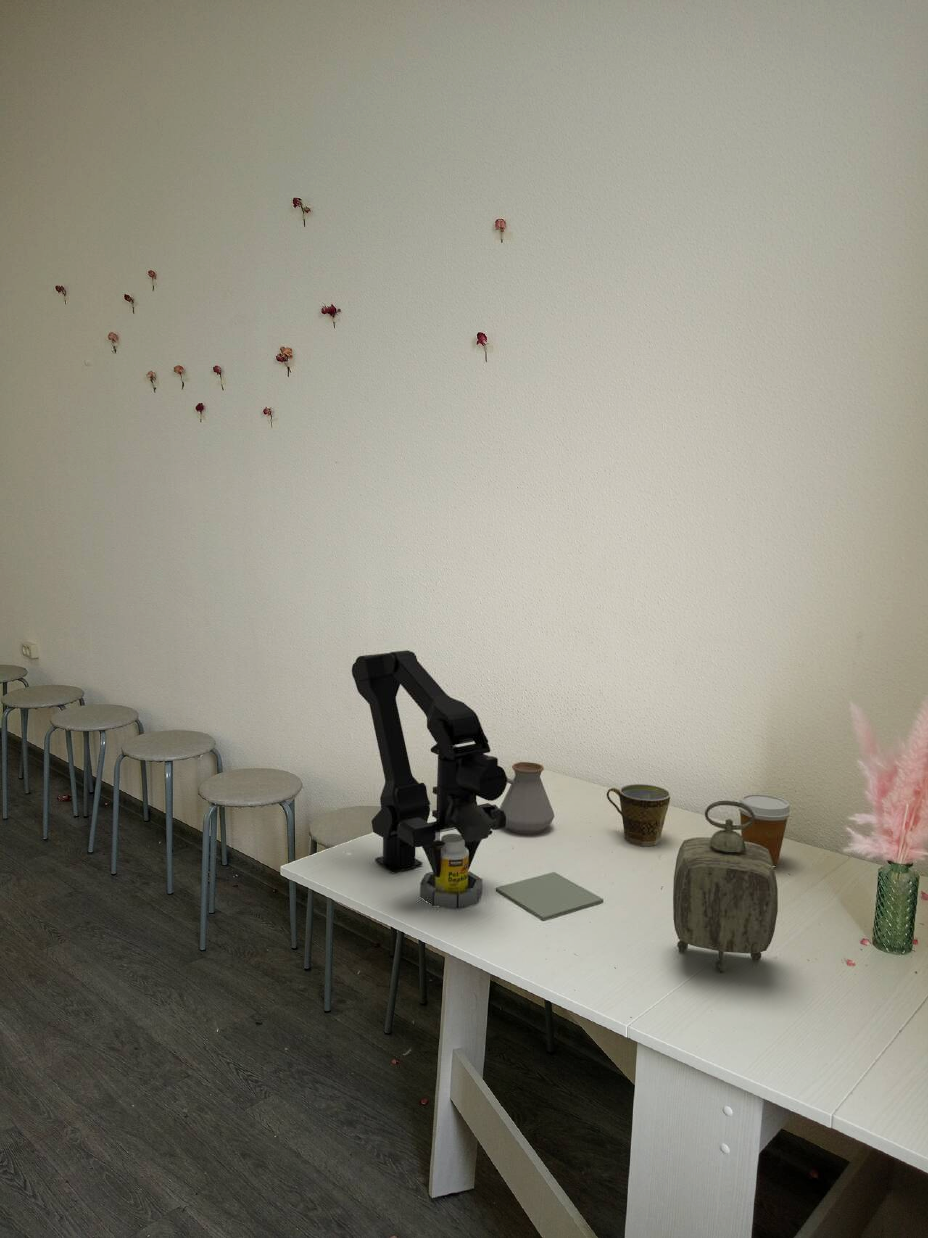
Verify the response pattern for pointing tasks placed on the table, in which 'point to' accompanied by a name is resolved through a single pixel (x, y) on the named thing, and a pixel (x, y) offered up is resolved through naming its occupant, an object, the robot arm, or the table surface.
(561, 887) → the mat
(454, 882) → the supplement bottle
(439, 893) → the collar
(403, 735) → the robot arm
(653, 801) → the ceramic cup
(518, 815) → the grey turkish cezve
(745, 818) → the disposable coffee cup
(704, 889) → the tabletop clock
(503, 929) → the table surface
